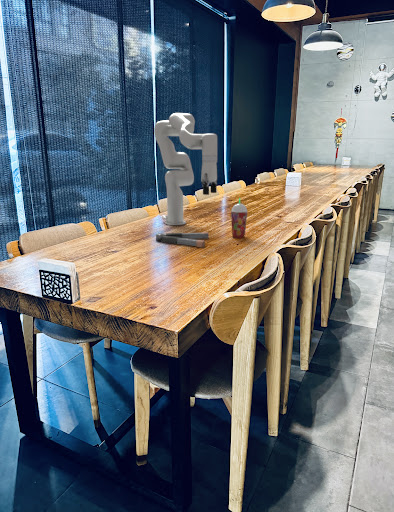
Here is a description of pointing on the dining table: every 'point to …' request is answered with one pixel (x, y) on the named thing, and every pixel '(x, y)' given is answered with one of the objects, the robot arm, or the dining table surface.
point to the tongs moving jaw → (184, 235)
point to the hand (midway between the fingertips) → (209, 193)
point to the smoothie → (238, 220)
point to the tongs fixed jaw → (183, 241)
